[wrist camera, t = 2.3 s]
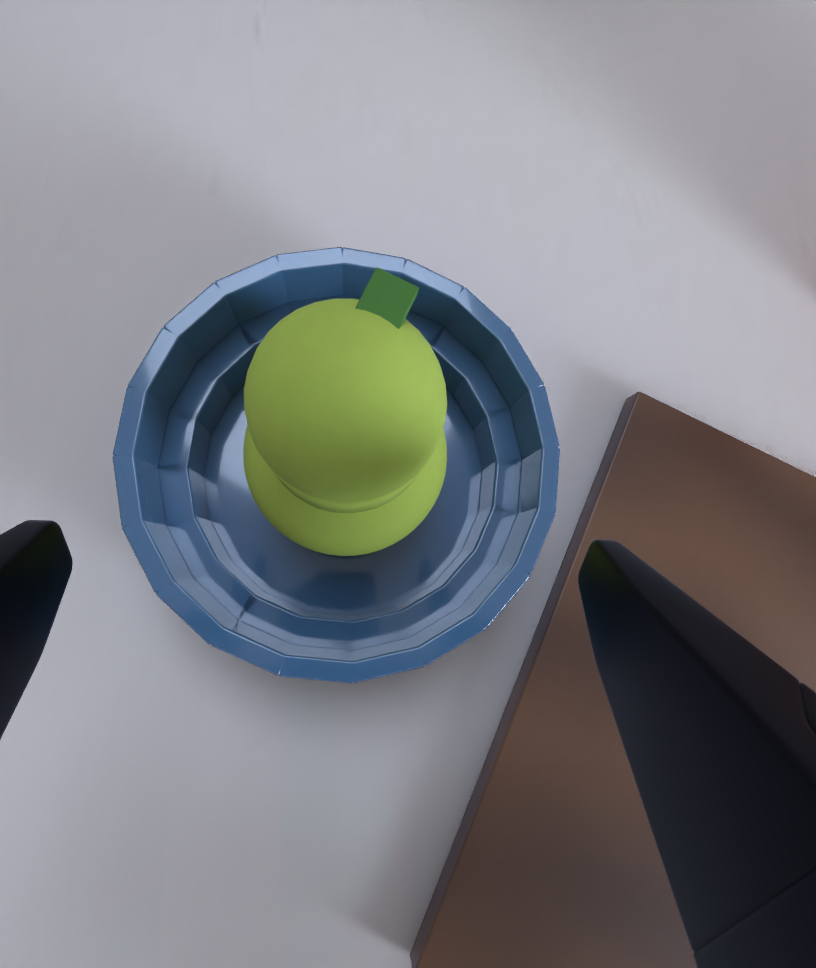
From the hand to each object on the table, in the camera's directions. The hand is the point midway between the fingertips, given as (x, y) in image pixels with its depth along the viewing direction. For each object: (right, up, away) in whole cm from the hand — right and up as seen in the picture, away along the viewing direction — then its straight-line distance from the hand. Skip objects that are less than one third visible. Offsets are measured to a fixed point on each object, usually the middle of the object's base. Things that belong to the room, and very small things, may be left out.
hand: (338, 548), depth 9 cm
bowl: (-1, +1, +11) cm, 11 cm away
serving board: (+13, -8, +11) cm, 19 cm away
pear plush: (-1, +2, +11) cm, 11 cm away
